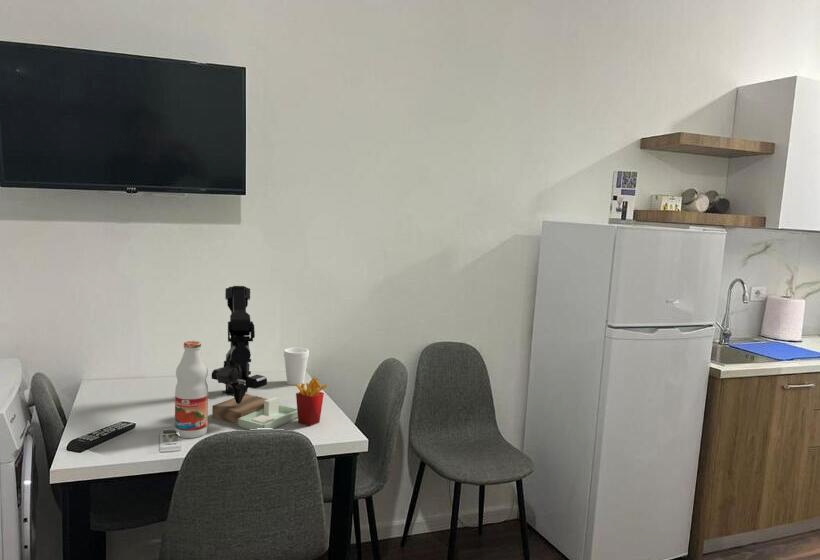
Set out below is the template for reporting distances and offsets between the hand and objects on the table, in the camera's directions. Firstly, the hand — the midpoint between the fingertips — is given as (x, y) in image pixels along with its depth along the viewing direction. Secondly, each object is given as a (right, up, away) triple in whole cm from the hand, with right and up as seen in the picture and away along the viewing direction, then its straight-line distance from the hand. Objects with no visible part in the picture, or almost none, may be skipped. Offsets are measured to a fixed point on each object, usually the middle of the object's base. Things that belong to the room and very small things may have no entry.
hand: (238, 403), depth 215 cm
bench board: (+1, -5, +4) cm, 6 cm away
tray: (+11, -6, -1) cm, 12 cm away
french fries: (+24, -7, 0) cm, 25 cm away
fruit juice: (-10, -7, -15) cm, 19 cm away
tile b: (+9, -4, -6) cm, 12 cm away
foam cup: (+11, 0, +44) cm, 45 cm away
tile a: (+9, -2, +5) cm, 10 cm away
